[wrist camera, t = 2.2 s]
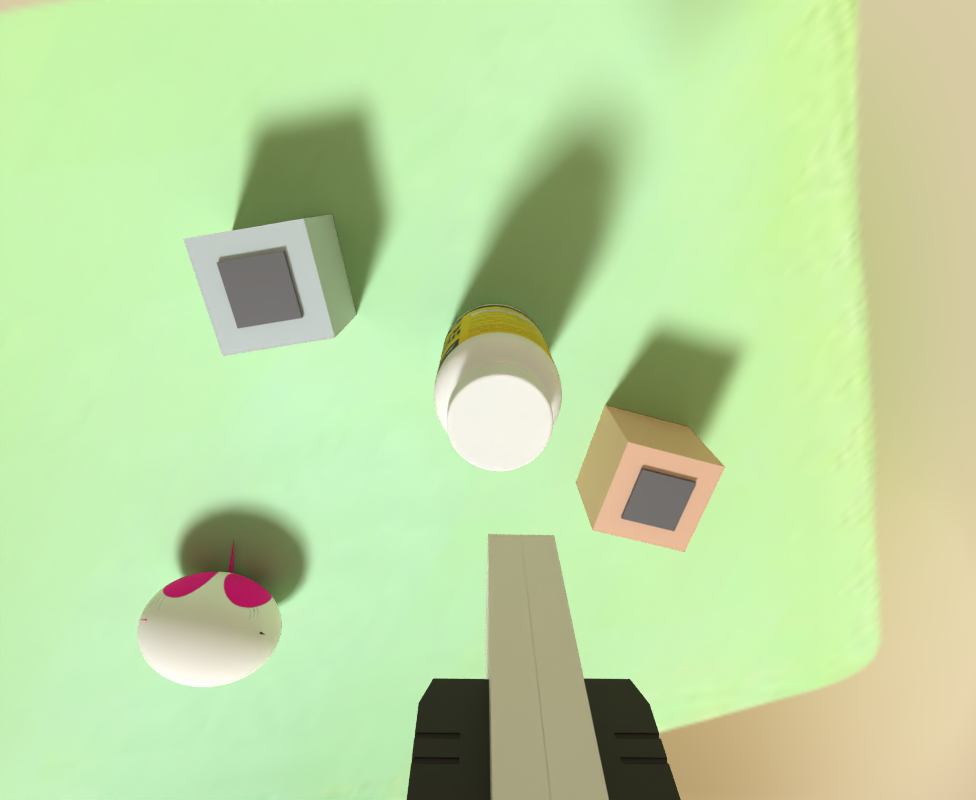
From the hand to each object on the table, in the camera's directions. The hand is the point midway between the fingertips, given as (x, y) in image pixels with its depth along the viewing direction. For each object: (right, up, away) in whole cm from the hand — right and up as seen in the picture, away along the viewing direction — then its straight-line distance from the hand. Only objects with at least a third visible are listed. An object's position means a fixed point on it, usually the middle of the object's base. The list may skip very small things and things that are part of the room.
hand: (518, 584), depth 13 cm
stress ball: (-16, -7, +22) cm, 28 cm away
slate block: (-10, +11, +15) cm, 21 cm away
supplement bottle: (0, +7, +17) cm, 18 cm away
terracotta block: (+7, +1, +19) cm, 21 cm away
